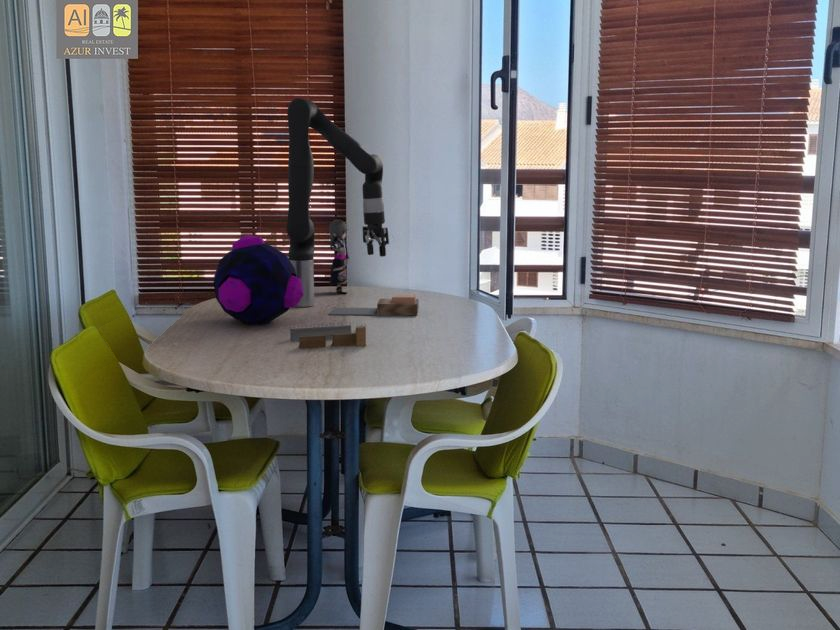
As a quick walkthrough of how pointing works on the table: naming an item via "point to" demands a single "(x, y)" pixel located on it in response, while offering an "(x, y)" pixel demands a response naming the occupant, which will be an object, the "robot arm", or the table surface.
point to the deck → (397, 307)
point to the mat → (353, 311)
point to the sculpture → (256, 282)
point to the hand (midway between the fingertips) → (376, 255)
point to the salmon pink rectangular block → (403, 299)
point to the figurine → (338, 254)
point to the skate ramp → (328, 336)
